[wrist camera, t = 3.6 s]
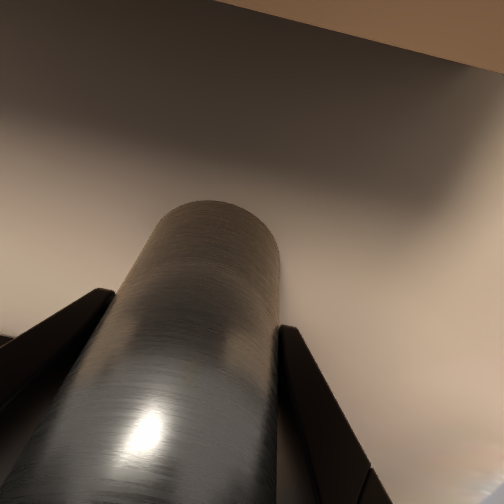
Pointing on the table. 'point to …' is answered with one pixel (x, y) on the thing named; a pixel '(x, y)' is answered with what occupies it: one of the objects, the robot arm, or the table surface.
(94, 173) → the table surface
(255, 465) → the metal peg
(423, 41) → the walnut box
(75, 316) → the robot arm
